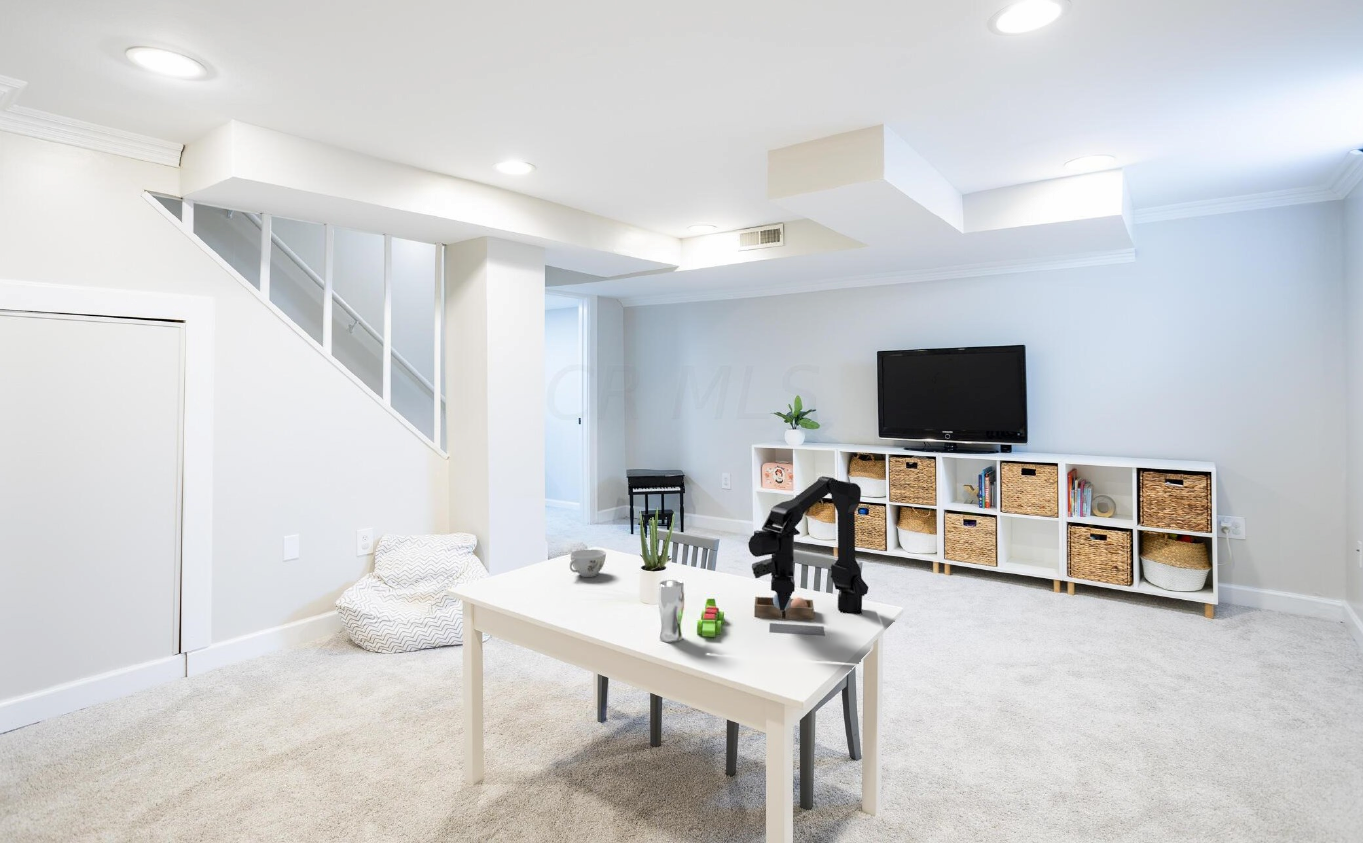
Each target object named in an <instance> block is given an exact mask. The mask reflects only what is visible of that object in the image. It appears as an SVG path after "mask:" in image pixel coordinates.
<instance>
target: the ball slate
mask: <svg viewBox="0 0 1363 843" xmlns="http://www.w3.org/2000/svg"><path fill="white" fill-rule="evenodd" d="M772 598H773V603H774V605H775V607H776V608H778V609H780V607H779V602H778V596H777V593H776V592H775V594H774V595H773V597H772ZM791 599H792V596H790V599H789V601H788V603H787V605H786V607H785V609H787V608H789V606H790V605H791Z"/></svg>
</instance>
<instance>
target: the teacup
mask: <svg viewBox="0 0 1363 843" xmlns="http://www.w3.org/2000/svg"><path fill="white" fill-rule="evenodd" d="M606 555H607V552H606V551H605V550H602V549H579V550H575V551H572V552H571V553H570V562H569V569H570V571H571V572H572V573H577V574H579V575H580V576H581V577H583V578H591V577H596V576H597V575H598V573H600V571H601V570H602V569H603V567H604V565H605V562H606ZM572 567H573V568H572Z"/></svg>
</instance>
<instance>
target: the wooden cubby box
mask: <svg viewBox="0 0 1363 843" xmlns="http://www.w3.org/2000/svg"><path fill="white" fill-rule="evenodd" d="M793 599H794V598H791V602H792V600H793ZM803 599H804V600H805V601H806V602H807V605H808V608H807V607H791V605H790V606H789V608H787V609H785V610H784V611H785V619H786V620H801V621H814V620H815V619H814V618H815V615H814V614H815V607H814V599H806V598H803Z"/></svg>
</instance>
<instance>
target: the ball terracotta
mask: <svg viewBox="0 0 1363 843" xmlns="http://www.w3.org/2000/svg"><path fill="white" fill-rule="evenodd" d="M792 599H793V600H792V602H791V607H807V608H808V605H807V602H806V601H805V600H804V599H805V598H803V597H800V596H799V597H795V598H792Z"/></svg>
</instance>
